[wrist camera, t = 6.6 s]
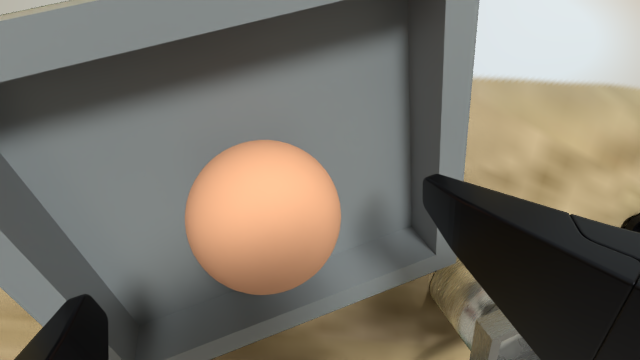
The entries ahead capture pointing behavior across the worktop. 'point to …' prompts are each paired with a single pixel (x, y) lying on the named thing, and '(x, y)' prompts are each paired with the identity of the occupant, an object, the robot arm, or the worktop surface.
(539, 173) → the worktop surface
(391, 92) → the tray
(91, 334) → the robot arm
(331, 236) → the ball
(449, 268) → the hollow square frame
